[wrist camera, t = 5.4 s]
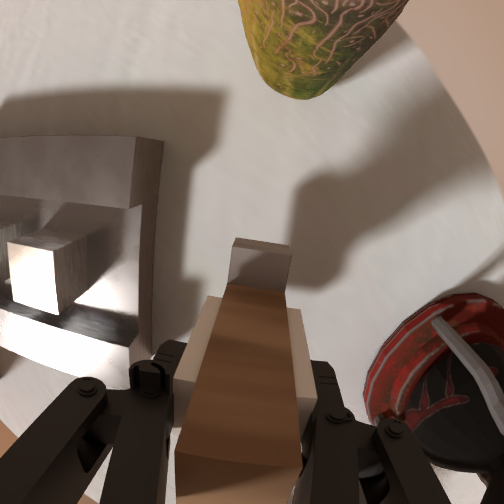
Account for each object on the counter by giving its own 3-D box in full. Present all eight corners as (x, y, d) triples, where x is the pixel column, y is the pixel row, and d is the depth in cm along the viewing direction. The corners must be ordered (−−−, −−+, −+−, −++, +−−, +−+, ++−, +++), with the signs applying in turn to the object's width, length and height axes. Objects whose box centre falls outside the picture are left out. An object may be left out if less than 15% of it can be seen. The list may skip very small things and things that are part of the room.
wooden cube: (87, 290, 21) (58, 314, 17) (45, 280, 21) (13, 300, 17) (86, 235, 20) (52, 251, 16) (42, 228, 20) (7, 241, 16)
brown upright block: (268, 351, 20) (265, 540, 8) (222, 344, 20) (177, 528, 8) (289, 245, 18) (326, 410, 6) (236, 237, 18) (174, 390, 6)
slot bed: (151, 356, 25) (131, 392, 21) (-13, 306, 26) (-42, 325, 21) (163, 141, 21) (136, 136, 16) (-21, 141, 21) (-58, 143, 16)
